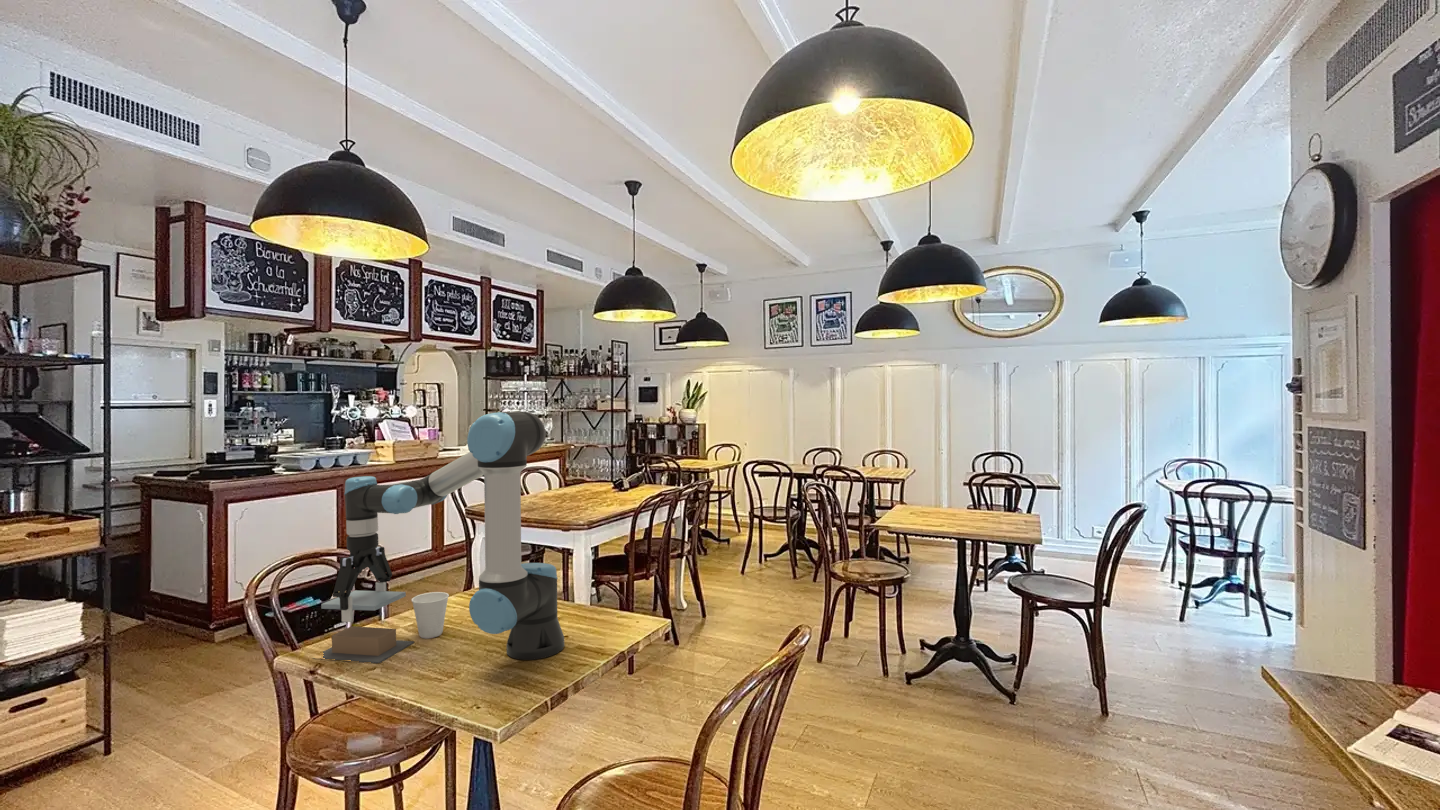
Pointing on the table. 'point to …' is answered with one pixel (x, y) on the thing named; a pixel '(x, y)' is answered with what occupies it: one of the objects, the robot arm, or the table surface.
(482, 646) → the table surface
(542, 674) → the table surface
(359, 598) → the sheet
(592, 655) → the table surface
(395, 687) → the table surface
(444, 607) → the cup
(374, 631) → the brown block on plate
